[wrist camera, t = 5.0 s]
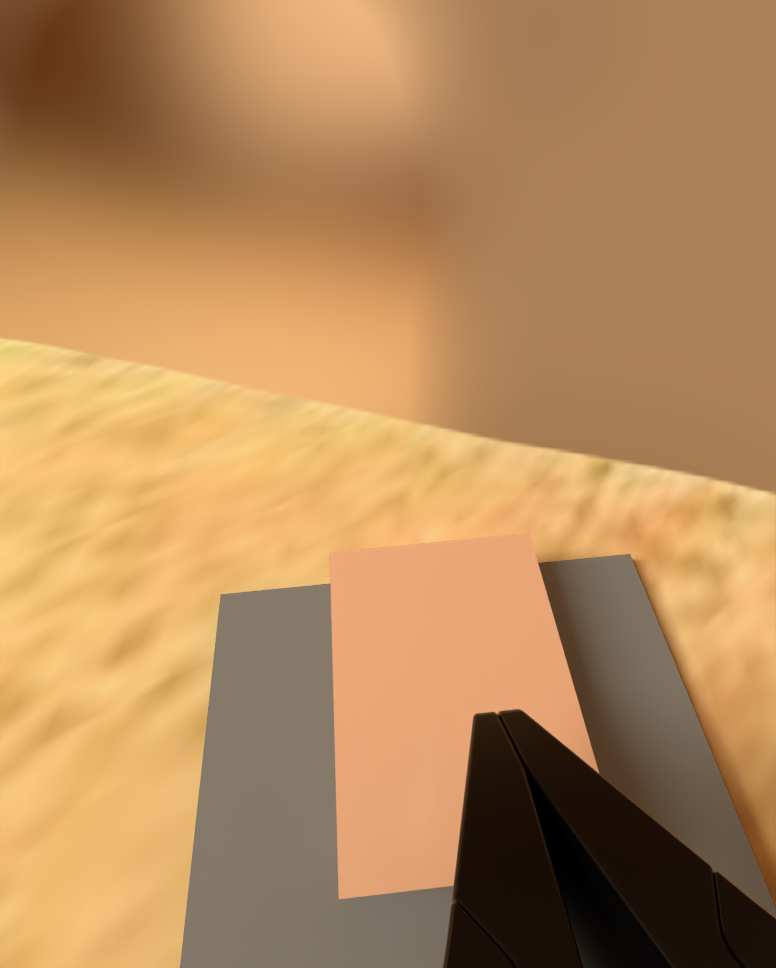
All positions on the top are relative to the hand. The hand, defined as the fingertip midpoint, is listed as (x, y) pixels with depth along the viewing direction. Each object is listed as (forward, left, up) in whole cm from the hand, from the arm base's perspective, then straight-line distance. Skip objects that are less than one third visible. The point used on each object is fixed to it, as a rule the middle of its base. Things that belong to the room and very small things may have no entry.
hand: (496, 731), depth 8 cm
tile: (-3, -1, -6) cm, 7 cm away
